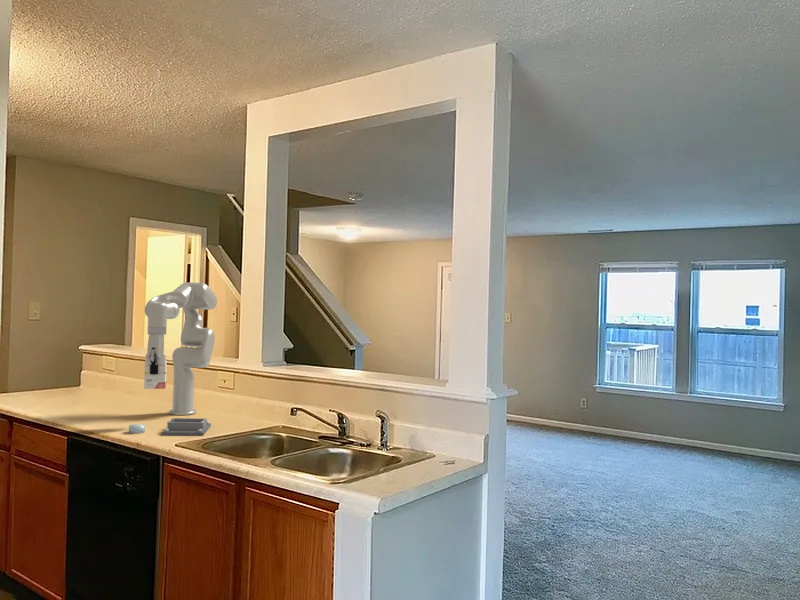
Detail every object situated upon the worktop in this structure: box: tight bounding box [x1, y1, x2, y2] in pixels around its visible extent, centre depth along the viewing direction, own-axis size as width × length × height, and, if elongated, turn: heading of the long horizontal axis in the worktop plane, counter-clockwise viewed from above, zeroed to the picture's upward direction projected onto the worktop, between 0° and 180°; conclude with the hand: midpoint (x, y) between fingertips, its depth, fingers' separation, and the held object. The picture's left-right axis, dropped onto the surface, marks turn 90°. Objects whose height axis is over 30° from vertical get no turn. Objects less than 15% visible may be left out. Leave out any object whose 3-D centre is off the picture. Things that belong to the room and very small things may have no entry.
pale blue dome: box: [128, 423, 146, 435], centre depth 256 cm, size 6×6×3 cm
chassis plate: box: [161, 417, 212, 437], centre depth 262 cm, size 20×16×4 cm
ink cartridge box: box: [143, 353, 167, 390], centre depth 271 cm, size 9×5×15 cm, turn 105°
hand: (155, 372), depth 271 cm, fingers closed on ink cartridge box, 5 cm apart
